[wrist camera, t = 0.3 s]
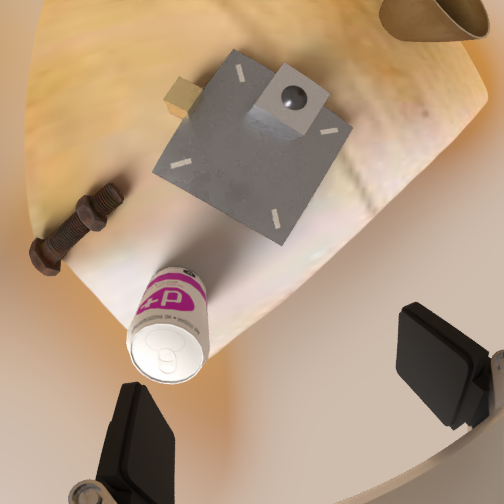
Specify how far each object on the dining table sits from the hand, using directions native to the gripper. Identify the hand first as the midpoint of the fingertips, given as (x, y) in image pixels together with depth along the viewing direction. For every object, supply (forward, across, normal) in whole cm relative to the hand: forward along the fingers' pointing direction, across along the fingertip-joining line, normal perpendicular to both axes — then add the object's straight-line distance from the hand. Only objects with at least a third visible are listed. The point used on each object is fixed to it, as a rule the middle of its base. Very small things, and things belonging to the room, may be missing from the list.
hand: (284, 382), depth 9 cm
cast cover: (+27, -10, -13) cm, 31 cm away
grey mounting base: (+30, -5, -10) cm, 32 cm away
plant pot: (+30, -35, -28) cm, 55 cm away
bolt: (+31, +19, -5) cm, 36 cm away
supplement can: (+30, +8, +7) cm, 32 cm away
